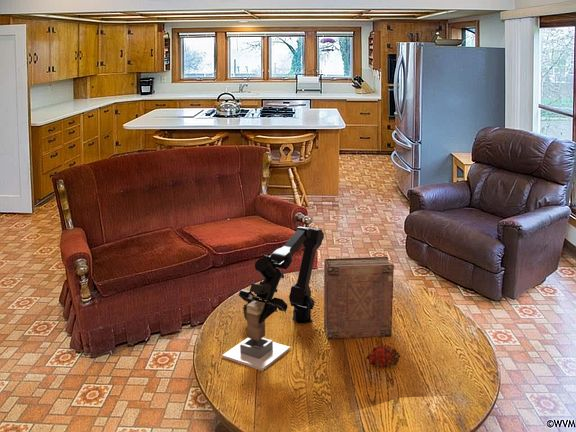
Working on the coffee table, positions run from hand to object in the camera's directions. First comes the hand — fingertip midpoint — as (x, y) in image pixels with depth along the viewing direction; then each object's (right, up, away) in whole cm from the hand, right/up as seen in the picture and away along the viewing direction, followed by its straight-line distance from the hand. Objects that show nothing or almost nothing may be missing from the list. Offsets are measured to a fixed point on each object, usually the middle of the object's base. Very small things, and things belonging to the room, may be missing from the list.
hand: (253, 321), depth 213 cm
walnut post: (+1, -6, +3) cm, 7 cm away
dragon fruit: (+46, -15, -5) cm, 49 cm away
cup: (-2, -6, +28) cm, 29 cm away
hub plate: (+1, -13, +5) cm, 13 cm away
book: (+40, -8, +20) cm, 45 cm away
